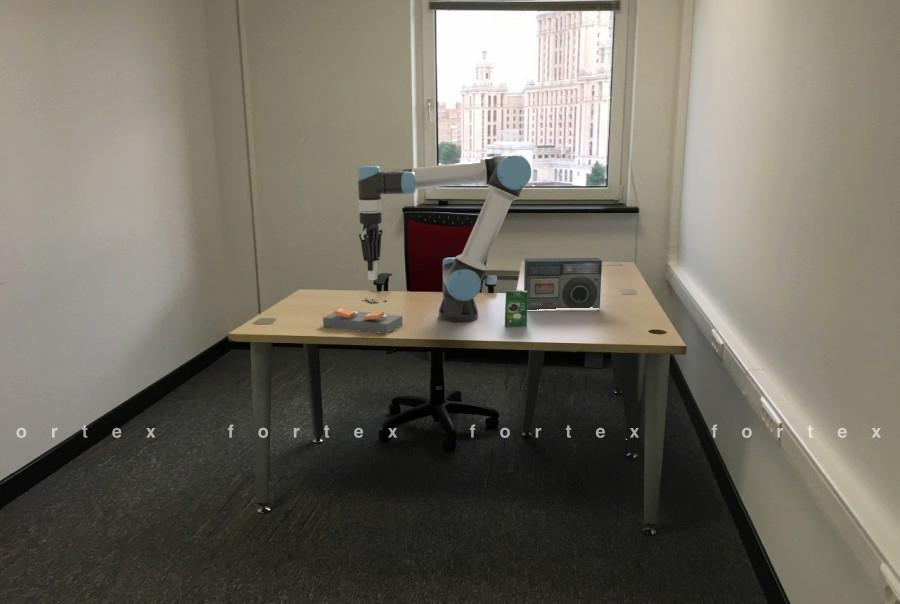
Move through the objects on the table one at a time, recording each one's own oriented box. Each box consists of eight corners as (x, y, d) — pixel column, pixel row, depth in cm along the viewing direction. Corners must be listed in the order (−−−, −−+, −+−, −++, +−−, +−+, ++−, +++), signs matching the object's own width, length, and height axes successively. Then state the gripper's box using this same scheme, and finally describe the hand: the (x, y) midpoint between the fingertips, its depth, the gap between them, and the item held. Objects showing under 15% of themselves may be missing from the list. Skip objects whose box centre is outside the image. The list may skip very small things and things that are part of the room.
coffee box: (526, 324, 245) (527, 289, 242) (527, 326, 242) (528, 291, 239) (504, 324, 245) (505, 289, 242) (505, 326, 242) (505, 291, 239)
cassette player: (525, 311, 263) (527, 261, 258) (523, 307, 270) (524, 258, 265) (599, 310, 264) (602, 260, 259) (595, 306, 271) (597, 257, 266)
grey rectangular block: (402, 325, 245) (402, 315, 244) (387, 334, 234) (387, 323, 233) (340, 318, 254) (340, 308, 253) (323, 326, 243) (322, 316, 243)
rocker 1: (354, 315, 244) (355, 311, 244) (348, 318, 240) (348, 314, 240) (340, 310, 246) (340, 307, 246) (334, 313, 242) (334, 310, 242)
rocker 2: (384, 315, 239) (383, 311, 239) (378, 318, 235) (378, 314, 235) (369, 316, 242) (369, 313, 242) (364, 319, 238) (363, 316, 238)
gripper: (370, 209, 237) (372, 274, 243) (350, 213, 225) (353, 282, 231) (389, 210, 234) (390, 276, 240) (370, 214, 222) (373, 283, 228)
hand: (372, 279), depth 235 cm, fingers closed
